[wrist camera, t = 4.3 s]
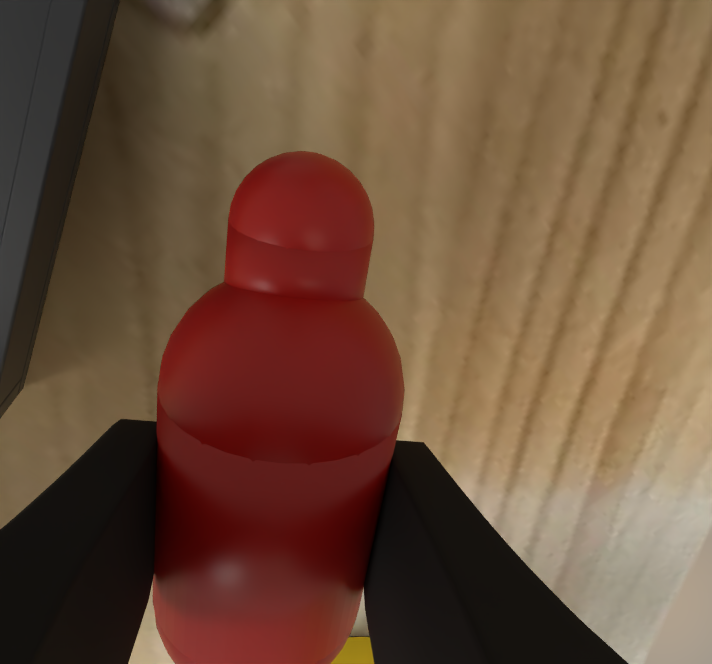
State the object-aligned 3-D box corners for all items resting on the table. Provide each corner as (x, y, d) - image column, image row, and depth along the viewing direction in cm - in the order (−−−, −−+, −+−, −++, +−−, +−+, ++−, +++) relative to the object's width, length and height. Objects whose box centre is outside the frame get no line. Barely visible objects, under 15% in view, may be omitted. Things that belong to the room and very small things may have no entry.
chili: (326, 645, 13) (335, 821, 10) (167, 640, 13) (130, 823, 10) (423, 153, 9) (486, 217, 6) (187, 119, 8) (130, 170, 5)
